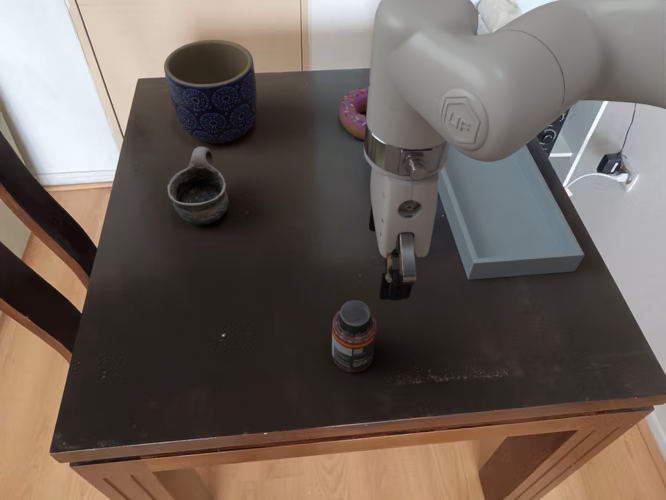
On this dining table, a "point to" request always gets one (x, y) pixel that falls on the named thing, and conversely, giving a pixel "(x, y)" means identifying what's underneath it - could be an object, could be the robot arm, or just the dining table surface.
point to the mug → (199, 190)
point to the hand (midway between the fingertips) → (387, 261)
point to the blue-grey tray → (505, 217)
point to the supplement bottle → (353, 336)
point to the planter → (212, 89)
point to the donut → (354, 112)
